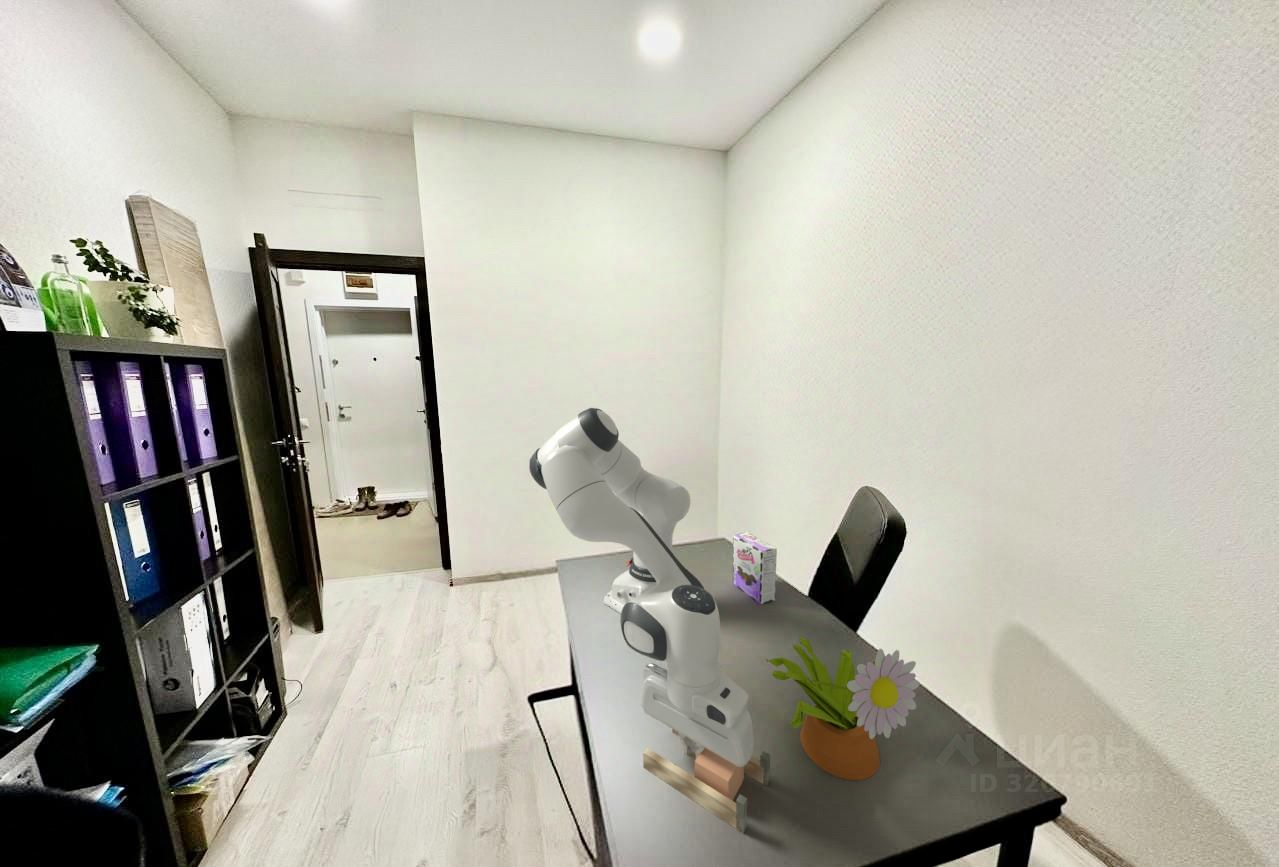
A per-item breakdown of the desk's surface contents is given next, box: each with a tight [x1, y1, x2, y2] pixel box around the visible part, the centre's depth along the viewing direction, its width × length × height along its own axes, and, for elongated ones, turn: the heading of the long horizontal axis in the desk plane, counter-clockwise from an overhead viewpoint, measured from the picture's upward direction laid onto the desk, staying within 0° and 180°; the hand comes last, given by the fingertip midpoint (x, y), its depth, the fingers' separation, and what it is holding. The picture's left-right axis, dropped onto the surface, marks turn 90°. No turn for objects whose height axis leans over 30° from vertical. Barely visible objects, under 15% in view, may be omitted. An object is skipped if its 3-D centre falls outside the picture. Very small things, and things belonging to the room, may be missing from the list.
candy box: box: [732, 531, 778, 605], centre depth 132 cm, size 14×6×16 cm, turn 23°
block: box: [694, 748, 745, 801], centre depth 73 cm, size 6×6×5 cm
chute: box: [642, 728, 771, 834], centre depth 75 cm, size 19×10×5 cm, turn 53°
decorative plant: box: [765, 637, 921, 781], centre depth 79 cm, size 27×24×25 cm
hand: (693, 756), depth 76 cm, fingers closed
